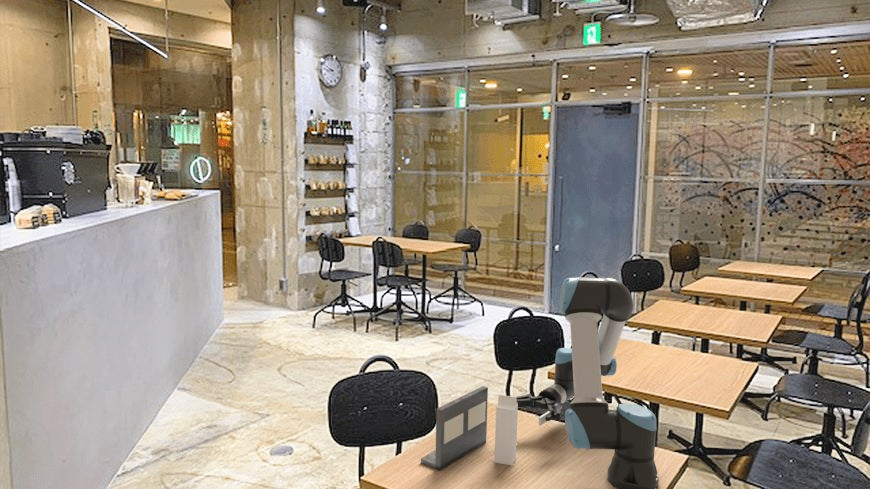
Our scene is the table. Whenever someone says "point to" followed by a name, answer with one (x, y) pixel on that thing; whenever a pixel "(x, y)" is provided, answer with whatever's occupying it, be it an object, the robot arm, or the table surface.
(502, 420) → the milk
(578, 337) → the robot arm
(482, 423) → the label panel
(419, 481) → the table surface
